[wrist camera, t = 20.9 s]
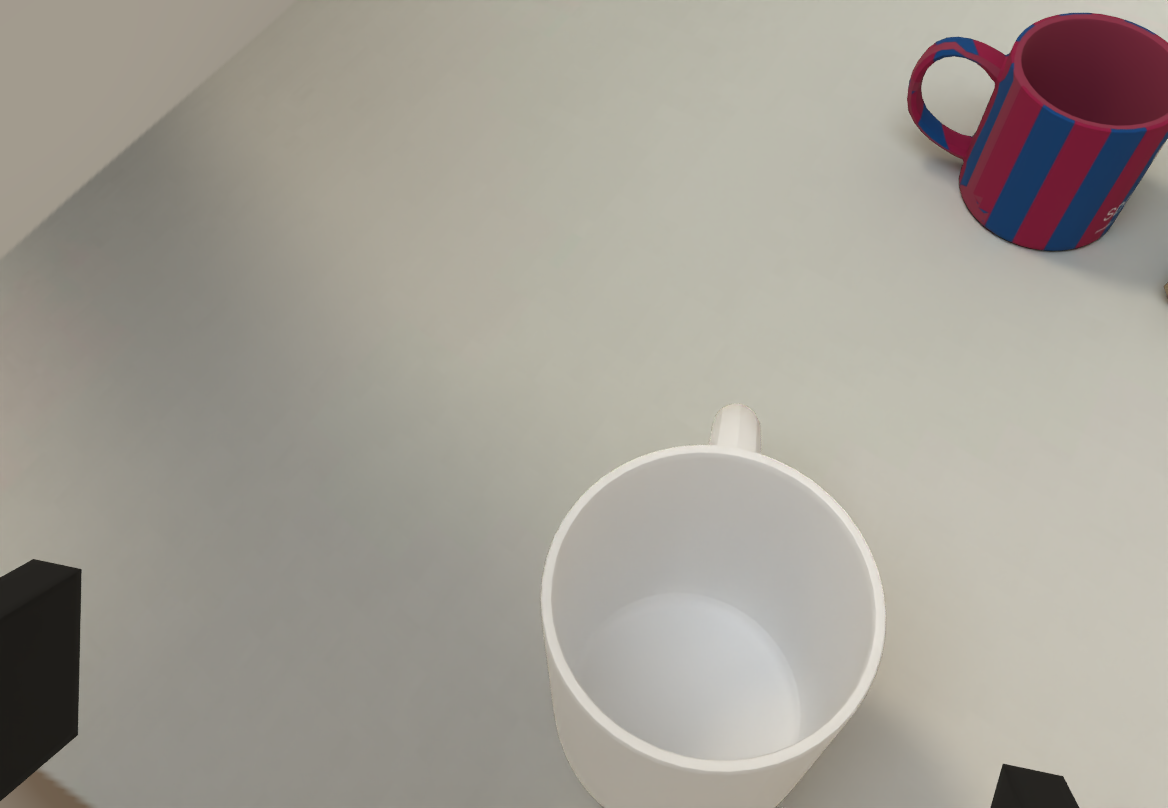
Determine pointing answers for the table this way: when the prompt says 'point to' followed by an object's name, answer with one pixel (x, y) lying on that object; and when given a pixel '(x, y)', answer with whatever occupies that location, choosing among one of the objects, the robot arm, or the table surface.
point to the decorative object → (1166, 289)
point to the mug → (707, 625)
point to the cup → (1057, 127)
